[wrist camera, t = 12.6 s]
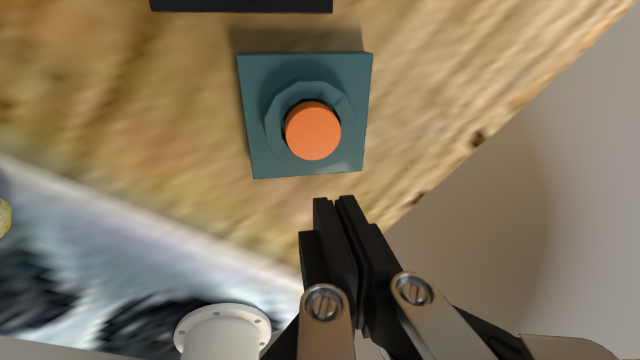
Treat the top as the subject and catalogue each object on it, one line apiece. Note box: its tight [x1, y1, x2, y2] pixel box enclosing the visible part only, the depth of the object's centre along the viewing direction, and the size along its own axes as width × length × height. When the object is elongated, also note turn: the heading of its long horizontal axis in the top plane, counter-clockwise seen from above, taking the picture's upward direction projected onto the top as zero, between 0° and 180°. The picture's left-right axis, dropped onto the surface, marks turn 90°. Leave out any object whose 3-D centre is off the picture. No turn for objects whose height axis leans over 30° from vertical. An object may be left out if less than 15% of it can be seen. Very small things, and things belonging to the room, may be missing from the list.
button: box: [285, 101, 341, 160], centre depth 19 cm, size 4×4×2 cm
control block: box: [236, 51, 373, 179], centre depth 21 cm, size 10×10×4 cm
